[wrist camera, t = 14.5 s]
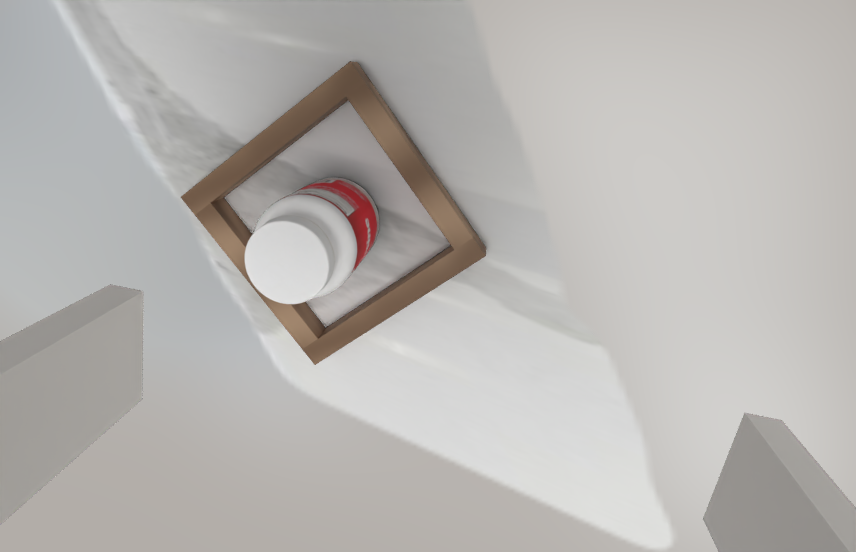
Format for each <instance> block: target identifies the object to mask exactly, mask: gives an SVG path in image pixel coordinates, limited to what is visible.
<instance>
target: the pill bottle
mask: <svg viewBox="0 0 856 552" xmlns="http://www.w3.org/2000/svg"><path fill="white" fill-rule="evenodd" d="M378 231H379V214H378V210H377V208H376V205H375V203H374V201H373V199H372V198H371V197H370V195H369V194H368V193H367V192H366V191H365V190H364V189H363V188H362V187H361V186H359V185H358V184H356V183H354V182H352V181H350V180H347V179H343V178H335V177H334V178H325V179H321V180H318V181H316V182H313V183H311V184H309V185H308V186H306V187H304V188H302V189H300V190H298V191H296V192H294V193H292V194H290V195H288V196H286V197H284V198H282V199H280V200H278V201H277V202H275V203H274V204H272V205H271V206H270V207H269V208H268V209H267V210H266V211H265V212H264V213H263V214H262V216H261V217H260V219H259V221H258V223H257V225H256V227H255V230H254V233H253V234H252V236H251V237H250V239H249V241H248V243H247V246H246V249H245V267H246V271H247V274H248V276H249V278H250V280H251V282H252V283H253V285H254V286H255V287H256V288H257V290H258V291H259V292H261V293H262V294H263V295H264V296H266V297H267V298H269V299H271V300H273V301H276V302H279V303H283V304H299V303H303V302H306V301H308V300H310V299H312V298H317V297H322V296H325V295H327V294H329V293H332V292H333V291H335V290H336V289H338V288H339V287H340V286H341V285H342V284H343V283H344V282H345V281H346V280H347V279H348V278H349V276H350V275H351V274H352V273H353V271H354V270H355V269H356V267H357V266H358V265H359V263H360V262H361V261H362V260H363V258H364V257H365V256H366V254H367V253H368V252H369V250H370V249H371V248H372V246H373V244H374V242H375V240H376V238H377V235H378Z"/></svg>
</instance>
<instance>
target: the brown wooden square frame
mask: <svg viewBox="0 0 856 552" xmlns="http://www.w3.org/2000/svg"><path fill="white" fill-rule="evenodd" d="M348 100H349V101H350V103H351V104H352V106H353V107H354V109H355V110H356V111H357V113H358V114H359V116H360V117H361V118H362V120H363V121H364V123H365V124H366V125H367V127H368V128H369V130H370V131H371V133H372V134H373V135H374V137H375V138H376V140H377V141H378V142H379V144H380V145H381V147H382V148H383V150H384V151H385V152H386V154H387V155H388V157H389V158H390V159H391V161H392V162H393V164H394V165H395V166H396V168H397V169H398V171H399V172H400V174H401V175H402V176H403V178H404V179H405V181H406V182H407V183H408V185H409V186H410V188H411V189H412V191H413V192H414V193H415V195H416V196H417V198H418V199H419V200H420V202H421V203H422V205H423V206H424V207H425V209H426V210H427V212H428V213H429V215H430V216H431V217H432V219H433V220H434V222H435V223H436V224H437V226H438V227H439V229H440V230H441V232H442V233H443V234H444V236H445V237H446V239H447V240H448V241H449V243H450V244H451V246H450V247H449V248H447V249H446V250H444V251H442V252H441V253H439V254H438V255H436V256H435V257H433V258H432V259H430V260H429V261H427V262H426V263H424V264H423V265H421V266H420V267H418V268H417V269H415V270H413V271H412V272H410V273H409V274H407V275H406V276H404V277H403V278H401V279H400V280H398V281H397V282H395V283H394V284H392V285H391V286H389V287H388V288H386V289H384V290H383V291H381V292H380V293H378V294H377V295H375V296H374V297H372V298H371V299H369V300H368V301H366V302H365V303H363V304H362V305H360V306H359V307H357V308H356V309H354V310H352V311H351V312H349V313H348V314H346V315H345V316H343V317H342V318H340V319H339V320H337V321H336V322H334V323H333V324H331V325H330V326H328V327H327V328H325V327H324V326H323V324H322V323H321V322H320V320H319V319H318V318H317V317H316V315H315V314H314V313H313V311H312V310H311V309H310V308H309V306H308V305H307V304H306V303H305V302H303V303H299V304H283V303H279V302H276V301H273V300H271V299H269V298H267V297H266V296H264V295H263V294H262V293H261V292H259V291H258V290H257V288H256V287H255V286H254V285H253V283H252V282H251V280H250V278H249V276H248V274H247V271H246V267H245V249H246V246H247V243H248V241H249V239H250V237H251V236H252V234H251V232H250V231H249V230H248V228H247V227H246V226H245V225H244V223H243V222H242V221H241V220H240V218H239V217H238V216H237V214H236V213H235V212H234V211H233V209H232V208H231V207H230V205H229V204H228V203H227V202H226V200H225V199H224V198H223V197H225V196H226V195H227V194H229V193H230V192H231V191H232V190H234V189H235V188H236V187H238V186H239V185H240V184H241V183H243V182H244V181H245V180H247V179H248V178H249V177H250V176H252V175H253V174H254V173H255V172H257V171H258V170H259V169H261V168H262V167H263V166H264V165H266V164H267V163H268V162H270V161H271V160H272V159H273V158H275V157H276V156H277V155H279V154H280V153H281V152H282V151H284V150H285V149H286V148H288V147H289V146H290V145H291V144H293V143H294V142H295V141H297V140H298V139H299V138H300V137H302V136H303V135H304V134H306V133H307V132H308V131H309V130H311V129H312V128H313V127H315V126H316V125H317V124H318V123H320V122H321V121H322V120H324V119H325V118H326V117H327V116H329V115H330V114H331V113H332V112H334V111H335V110H336V109H338V108H339V107H340V106H341V105H343V104H344V103H345V102H347V101H348ZM181 198H182V199H183V201H184V202H185V203H186V204H187V206H188V207H189V208H190V209H191V211H192V212H193V213H194V214H195V216H196V217H197V218H198V219H199V221H200V222H201V223H202V224H203V226H204V227H205V228H206V229H207V231H208V232H209V233H210V234H211V236H212V237H213V238H214V239H215V241H216V242H217V243H218V244H219V246H220V247H221V248H222V249H223V251H224V252H225V253H226V254H227V256H228V257H229V258H230V259H231V261H232V262H233V263H234V264H235V266H236V267H237V268H238V269H239V271H240V272H241V273H242V274H243V276H244V277H245V278H246V279H247V281H248V282H249V283H250V284H251V286H252V287H253V288H254V289H255V291H256V292H257V293H258V294H259V296H260V297H261V298H262V299H263V301H264V302H265V303H266V304H267V306H268V307H269V308H270V309H271V311H272V312H273V313H274V314H275V316H276V317H277V318H278V319H279V321H280V322H281V323H282V324H283V326H284V327H285V328H286V329H287V331H288V332H289V333H290V334H291V336H292V337H293V338H294V339H295V341H296V342H297V343H298V344H299V346H300V347H301V348H302V349H303V351H304V352H305V353H306V354H307V356H308V357H309V358H310V359H311V361H312V362H313V363H314V364H315V365H316V364H317V363H319V362H320V361H322V360H323V359H325V358H327V357H328V356H330V355H331V354H333V353H334V352H336V351H337V350H339V349H341V348H342V347H344V346H345V345H347V344H348V343H350V342H352V341H353V340H355V339H356V338H358V337H359V336H361V335H363V334H364V333H366V332H367V331H369V330H370V329H372V328H374V327H375V326H377V325H378V324H380V323H381V322H383V321H385V320H386V319H388V318H389V317H391V316H392V315H394V314H395V313H397V312H399V311H400V310H402V309H403V308H405V307H406V306H408V305H410V304H411V303H413V302H414V301H416V300H417V299H419V298H421V297H422V296H424V295H425V294H427V293H428V292H430V291H432V290H433V289H435V288H436V287H438V286H439V285H441V284H443V283H444V282H446V281H447V280H449V279H450V278H452V277H453V276H455V275H457V274H458V273H460V272H461V271H463V270H464V269H466V268H468V267H469V266H471V265H472V264H474V263H475V262H477V261H479V260H480V259H482V258H483V257H485V256H486V247H485V245H484V244H483V243H482V241H481V240H480V238H479V237H478V235H477V234H476V232H475V231H474V230H473V228H472V227H471V225H470V224H469V222H468V221H467V219H466V218H465V217H464V215H463V214H462V212H461V211H460V209H459V208H458V207H457V205H456V204H455V202H454V201H453V199H452V198H451V196H450V195H449V194H448V192H447V191H446V189H445V188H444V186H443V185H442V183H441V182H440V181H439V179H438V178H437V176H436V175H435V173H434V172H433V170H432V169H431V168H430V166H429V165H428V163H427V162H426V160H425V159H424V158H423V156H422V155H421V153H420V152H419V150H418V149H417V147H416V146H415V145H414V143H413V142H412V140H411V139H410V137H409V136H408V134H407V133H406V132H405V130H404V129H403V127H402V126H401V124H400V123H399V122H398V120H397V119H396V117H395V116H394V114H393V113H392V111H391V110H390V109H389V107H388V106H387V104H386V103H385V101H384V100H383V98H382V97H381V96H380V94H379V93H378V91H377V90H376V88H375V87H374V85H373V84H372V83H371V81H370V80H369V78H368V77H367V75H366V74H365V73H364V71H363V70H362V68H361V67H360V65H359V64H358V62H351V61H350V62H349V63H348V64H346V65H345V66H344V67H343V68H341V69H340V70H339V71H338V72H336V73H335V74H334V75H333V76H331V77H330V78H329V79H328V80H326V81H325V82H324V83H323V84H321V85H320V86H319V87H318V88H316V89H315V90H314V91H313V92H311V93H310V94H309V95H308V96H306V97H305V98H304V99H303V100H301V101H300V102H299V103H298V104H296V105H295V106H294V107H293V108H291V109H290V110H289V111H288V112H286V113H285V114H284V115H283V116H281V117H280V118H279V119H278V120H276V121H275V122H274V123H273V124H271V125H270V126H269V127H268V128H266V129H265V130H264V131H263V132H261V133H260V134H259V135H258V136H256V137H255V138H254V139H253V140H251V141H250V142H249V143H248V144H246V145H245V146H244V147H243V148H241V149H240V150H239V151H238V152H236V153H235V154H234V155H233V156H231V157H230V158H229V159H228V160H226V161H225V162H224V163H223V164H221V165H220V166H219V167H218V168H216V169H215V170H214V171H213V172H211V173H210V174H209V175H208V176H206V177H205V178H204V179H203V180H202V181H200V182H199V183H198V184H197V185H195V186H194V187H193V188H192V189H190V190H189V191H188V192H187V193H185V194H184V195H183V196H182V197H181Z"/></svg>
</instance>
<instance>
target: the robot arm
mask: <svg viewBox="0 0 856 552" xmlns="http://www.w3.org/2000/svg"><path fill="white" fill-rule="evenodd" d="M142 373H143V291H140V290H135V289H130V288H126V287H121V286H116V285H111V284H110V285H108V286H106V287H104V288H103V289H101V290H99V291H97V292H95V293H93V294H91V295H89V296H87V297H85V298H83V299H81V300H79V301H77V302H75V303H74V304H71V305H70V306H68V307H66V308H64V309H62V310H60V311H58V312H56V313H54V314H52V315H50V316H48V317H46V318H44V319H42V320H40V321H38V322H37V323H35V324H33V325H31V326H29V327H27V328H25V329H23V330H21V331H19V332H17V333H15V334H13V335H11V336H9V337H7V338H6V339H4V340H2V341H0V525H1V524H2V523H3V522H4V521H5V520H7V519H8V518H9V517H10V516H11V515H12V514H13V513H15V512H16V511H17V510H18V509H19V508H20V507H21V506H22V505H23V504H25V503H26V502H27V501H28V500H29V499H30V498H32V497H33V495H35V494H36V493H37V492H38V491H39V490H41V489H42V488H43V487H44V486H45V485H46V484H47V483H48V482H49V481H51V480H52V479H53V478H54V477H55V476H56V475H57V474H59V473H60V472H61V471H62V470H63V469H64V468H65V467H67V466H68V465H69V464H70V463H71V462H72V461H73V460H74V459H76V458H77V457H78V456H79V455H80V454H81V453H82V452H83V451H85V450H86V449H87V448H88V447H89V446H90V445H91V444H93V443H94V442H95V441H96V440H97V439H98V438H99V437H100V436H101V435H103V434H104V433H105V432H106V431H107V430H108V429H109V428H110V427H112V426H113V425H114V424H115V423H116V422H117V421H118V420H119V419H121V418H122V417H123V416H124V415H125V414H126V413H128V412H129V411H130V410H131V409H132V408H133V407H134V406H135V405H137V404H138V403H139V402H140V401H141V400H142V380H143V379H142V377H143V374H142ZM703 520H704V522H705V524H706V526H707V528H708V530H709V532H710V534H711V537H712V539H713V541H714V543H715V545H716V547H717V549H718V552H856V507H855V506H854V505H853V504H852V503H851V501H850V500H849V499H848V498H847V497H846V496H845V494H844V493H843V492H842V491H841V490H840V488H839V487H838V486H837V485H836V484H835V483H834V481H833V480H832V479H831V478H830V477H829V475H828V474H827V473H826V472H825V471H824V470H823V468H822V467H821V466H820V465H819V464H818V463H817V461H816V460H815V459H814V458H813V457H812V455H811V454H810V453H809V452H808V451H807V449H806V448H805V447H804V446H803V445H802V444H801V442H800V441H799V440H798V439H797V438H796V436H795V435H794V434H793V433H792V432H791V431H790V429H789V428H788V427H787V426H786V425H785V423H784V422H783V421H782V420H778V419H773V418H768V417H763V416H758V415H753V414H748V413H744V416H743V418H742V421H741V423H740V426H739V429H738V431H737V433H736V436H735V438H734V441H733V444H732V446H731V449H730V451H729V454H728V456H727V459H726V461H725V464H724V466H723V469H722V472H721V474H720V477H719V479H718V482H717V484H716V487H715V490H714V492H713V494H712V497H711V500H710V502H709V505H708V507H707V510H706V512H705V515H704V517H703Z"/></svg>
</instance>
